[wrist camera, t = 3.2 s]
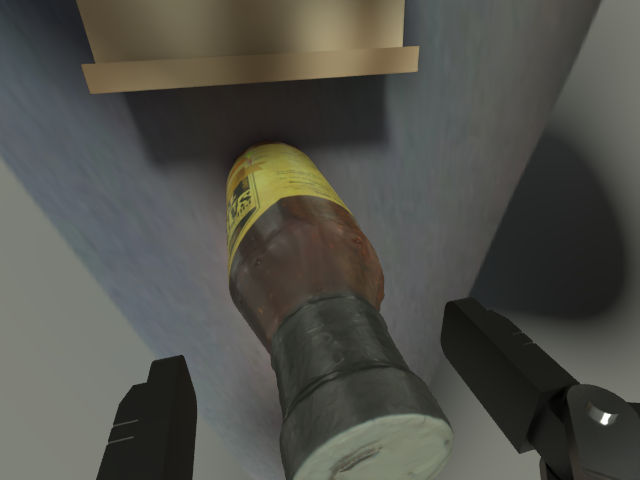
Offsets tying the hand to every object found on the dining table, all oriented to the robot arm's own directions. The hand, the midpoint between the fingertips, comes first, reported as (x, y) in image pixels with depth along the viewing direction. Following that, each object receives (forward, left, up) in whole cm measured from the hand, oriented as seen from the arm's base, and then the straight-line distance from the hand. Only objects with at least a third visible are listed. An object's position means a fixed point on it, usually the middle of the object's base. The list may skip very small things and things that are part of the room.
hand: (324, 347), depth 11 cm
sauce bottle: (0, 0, -17) cm, 17 cm away
